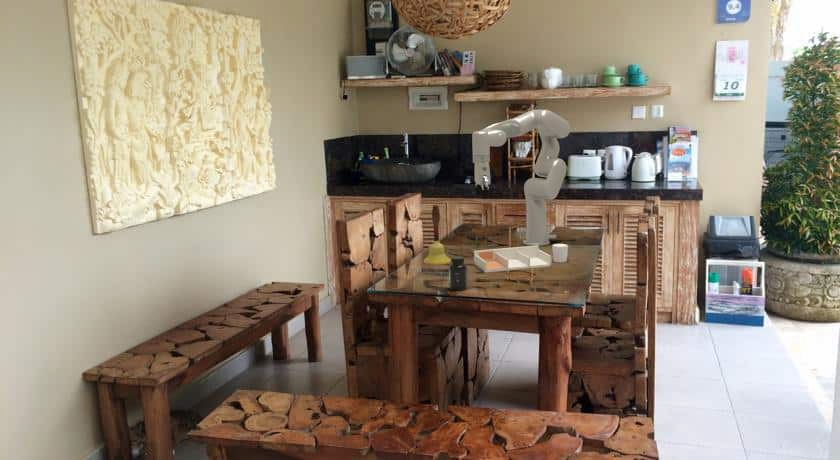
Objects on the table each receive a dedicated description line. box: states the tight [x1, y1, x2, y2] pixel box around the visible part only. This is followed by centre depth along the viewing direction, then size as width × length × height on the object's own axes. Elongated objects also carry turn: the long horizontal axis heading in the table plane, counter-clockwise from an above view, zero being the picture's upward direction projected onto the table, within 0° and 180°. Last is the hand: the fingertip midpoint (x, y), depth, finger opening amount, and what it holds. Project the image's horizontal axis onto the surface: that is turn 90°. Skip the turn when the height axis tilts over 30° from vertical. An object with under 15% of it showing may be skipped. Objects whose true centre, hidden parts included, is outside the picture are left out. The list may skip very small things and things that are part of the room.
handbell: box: [423, 204, 451, 265], centre depth 313 cm, size 12×12×25 cm
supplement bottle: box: [448, 255, 468, 291], centre depth 270 cm, size 7×7×12 cm
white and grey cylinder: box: [551, 243, 569, 263], centre depth 307 cm, size 7×7×7 cm
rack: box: [473, 245, 552, 274], centre depth 302 cm, size 29×15×6 cm, turn 103°
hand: (482, 197), depth 321 cm, fingers open, 9 cm apart
